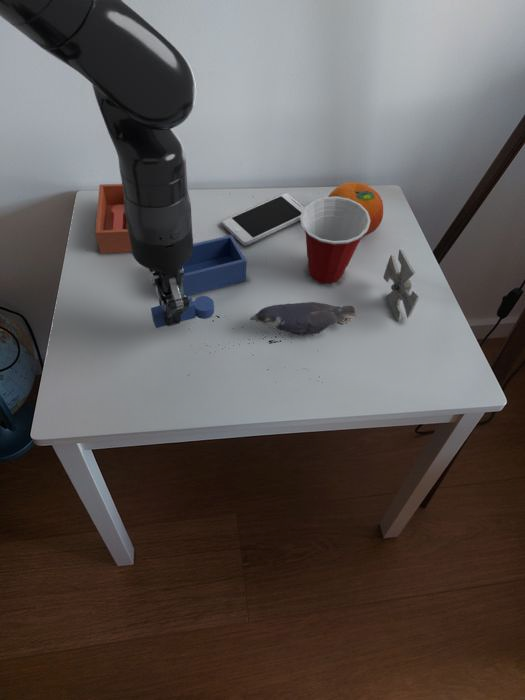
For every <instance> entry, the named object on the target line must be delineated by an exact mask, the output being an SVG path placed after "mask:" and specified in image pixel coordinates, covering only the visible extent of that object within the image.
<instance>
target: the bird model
mask: <svg viewBox="0 0 525 700" xmlns="http://www.w3.org/2000/svg"><path fill="white" fill-rule="evenodd" d="M357 316H358V313H357V312H356V308H355V307H354V305H343V306H340V305H339V306H338V305H332V304H330V303H329V304H328V303H322V302H315V301H309V302H307V301H306V302H298V303H297V302H296V303H284V304H283V303H282V304H281V303H280V304H273V305H268V306H266V307H263V308H261V309H260V310H259V311H258V312H257V313H255V314H254V315H253V316H251V317H250V318H249V320H250V321H254V322H256V323H259V324H262V325H264V326H267V327H270V328H273V329H274V328H275V329H276V330H279V331H283V332H286V333H291V334H292V335H297V336H307V335H318V334H320V333H321V332H323V331H325V330H326V329H327V328H328V327H330V326H332V325H334V324H338V325H341V326H343V325H346V326H347V325H348V324H349V323H350V322H351V321H352V317H357Z"/></svg>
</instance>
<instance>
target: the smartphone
mask: <svg viewBox="0 0 525 700" xmlns="http://www.w3.org/2000/svg"><path fill="white" fill-rule="evenodd" d="M304 207H305V206H303V205H302V204H301V203H300V202H299V201H297V199H295V198H294V197H292V195H290V194H289V193H287V192H286V193H285V192H284V193H283V194H280V195H278V196H275V197H274V198H271V199H269V200H267V201H264V202H263V203H260V204H258V205H256V206H253V207H251V208H248V209H246V210H244V211H242V212H240V213H237V214H235V215H233V216H231V217H228V218H225V219H223V220H222V223H221V224H222V227H223V228H224V229H225V230H226V231H227V232H228V233H230V235H232V236H233V238H234V239H235V240H237V241H238V242H239V243H240V244H241V245H242V246H245V247H246V246H248V245H250V244H253V243H255V242H258V241H259V240H261V239H263V238H266V237H267V236H269V235H271V234H274V233H276V232H278V231H280V230H283V229H284V228H287V227H288V226H291V225H293V224H295V223H297V222H299V221H301V219H300V216H301V213H302V211H303V208H304Z"/></svg>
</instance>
